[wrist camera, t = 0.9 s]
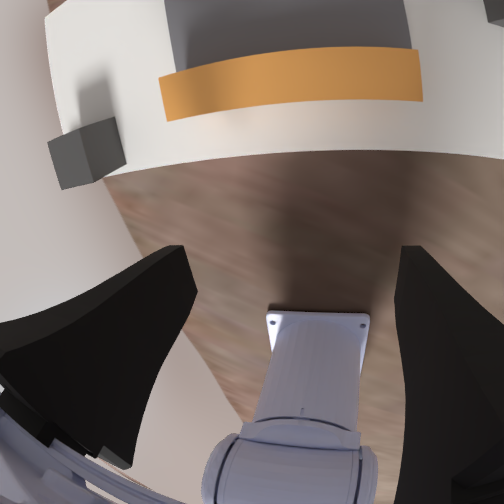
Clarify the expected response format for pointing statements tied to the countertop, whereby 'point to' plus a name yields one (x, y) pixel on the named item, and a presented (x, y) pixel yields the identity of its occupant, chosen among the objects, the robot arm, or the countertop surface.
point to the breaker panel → (266, 41)
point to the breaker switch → (293, 79)
